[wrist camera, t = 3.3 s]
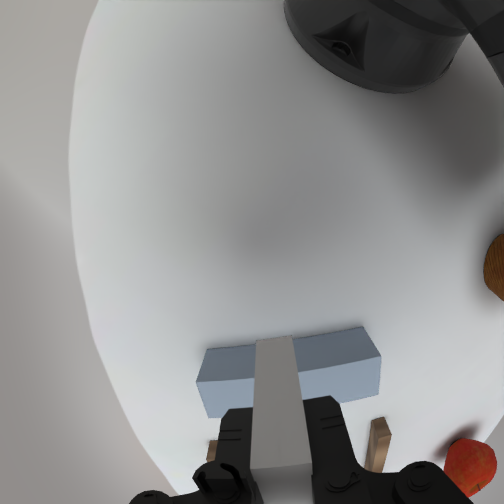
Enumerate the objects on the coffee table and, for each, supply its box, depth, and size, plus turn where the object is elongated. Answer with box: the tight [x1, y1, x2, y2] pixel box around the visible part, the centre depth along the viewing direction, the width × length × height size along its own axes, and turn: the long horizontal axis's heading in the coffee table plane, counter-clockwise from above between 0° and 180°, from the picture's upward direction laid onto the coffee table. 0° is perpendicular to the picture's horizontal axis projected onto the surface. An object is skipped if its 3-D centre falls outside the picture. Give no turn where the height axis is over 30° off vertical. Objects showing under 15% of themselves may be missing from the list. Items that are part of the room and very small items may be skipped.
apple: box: [444, 438, 497, 497], centre depth 24 cm, size 9×8×11 cm
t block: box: [196, 327, 381, 418], centre depth 23 cm, size 10×14×5 cm
